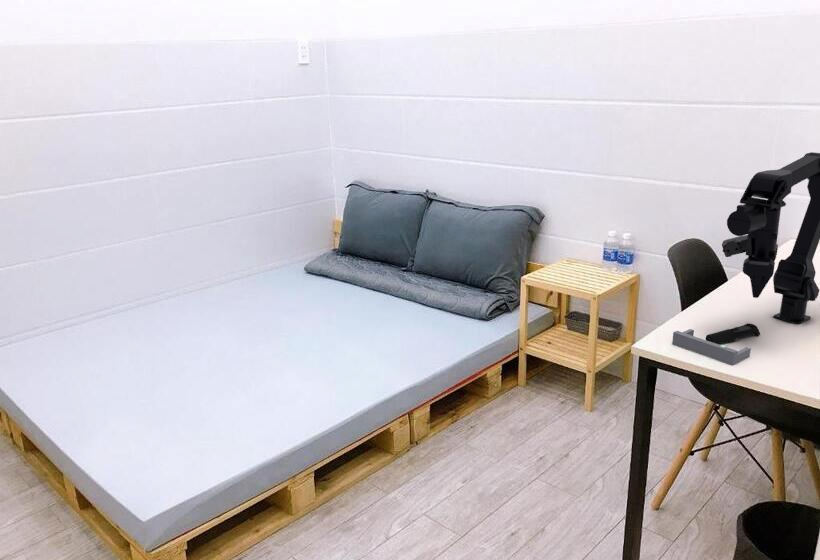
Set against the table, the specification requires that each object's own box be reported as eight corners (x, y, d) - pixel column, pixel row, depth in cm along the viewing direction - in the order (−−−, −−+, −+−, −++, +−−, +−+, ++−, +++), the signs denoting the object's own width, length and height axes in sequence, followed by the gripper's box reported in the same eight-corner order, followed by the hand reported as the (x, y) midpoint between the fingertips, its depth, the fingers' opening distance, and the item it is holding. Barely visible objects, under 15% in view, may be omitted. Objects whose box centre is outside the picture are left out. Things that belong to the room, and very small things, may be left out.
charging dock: (689, 336, 165) (690, 323, 163) (749, 356, 153) (751, 342, 152) (672, 343, 161) (673, 330, 160) (732, 365, 149) (734, 351, 148)
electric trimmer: (700, 343, 162) (701, 331, 160) (748, 331, 167) (749, 319, 166) (712, 349, 158) (713, 337, 157) (761, 337, 164) (763, 324, 163)
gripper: (730, 215, 168) (724, 275, 173) (721, 235, 153) (715, 300, 158) (781, 218, 163) (773, 280, 168) (777, 239, 148) (769, 306, 153)
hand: (757, 291), depth 162 cm, fingers open, 9 cm apart
